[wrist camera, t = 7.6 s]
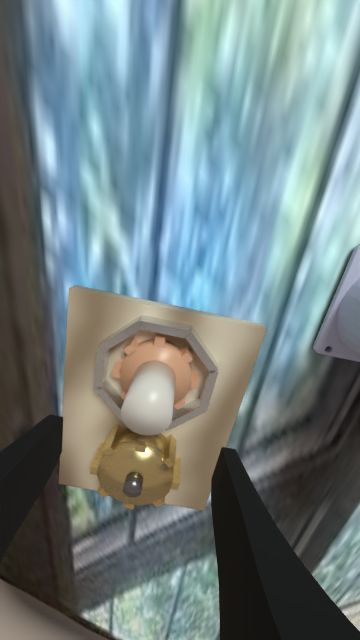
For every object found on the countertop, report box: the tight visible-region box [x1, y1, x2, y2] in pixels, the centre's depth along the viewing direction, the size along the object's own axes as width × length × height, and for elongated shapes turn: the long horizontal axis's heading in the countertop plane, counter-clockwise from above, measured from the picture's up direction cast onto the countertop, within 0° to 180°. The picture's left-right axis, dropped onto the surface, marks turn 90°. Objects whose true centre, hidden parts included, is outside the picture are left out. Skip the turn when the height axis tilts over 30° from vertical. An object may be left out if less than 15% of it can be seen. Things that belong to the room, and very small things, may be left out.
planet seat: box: [93, 315, 219, 431], centre depth 19 cm, size 9×9×1 cm
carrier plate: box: [59, 285, 267, 511], centre depth 22 cm, size 14×19×1 cm
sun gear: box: [90, 424, 181, 510], centre depth 21 cm, size 7×7×3 cm
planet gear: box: [112, 333, 199, 435], centre depth 18 cm, size 6×6×5 cm
